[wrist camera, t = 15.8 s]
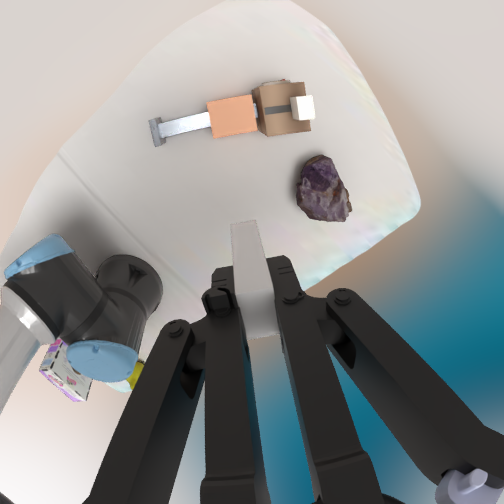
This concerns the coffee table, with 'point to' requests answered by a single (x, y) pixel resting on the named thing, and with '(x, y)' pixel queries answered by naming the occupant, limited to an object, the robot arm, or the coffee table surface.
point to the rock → (322, 191)
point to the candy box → (64, 373)
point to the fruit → (135, 374)
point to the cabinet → (278, 107)
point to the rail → (180, 126)
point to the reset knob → (302, 107)
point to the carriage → (232, 116)
